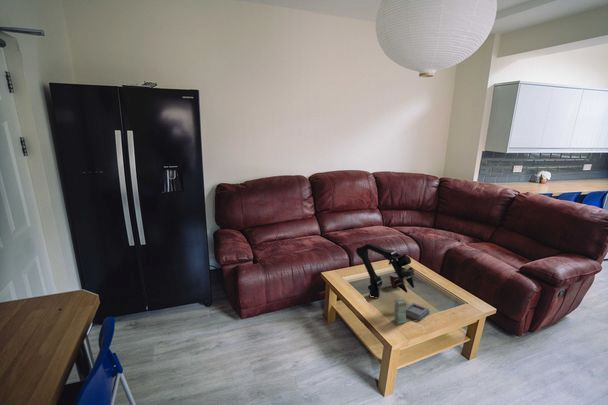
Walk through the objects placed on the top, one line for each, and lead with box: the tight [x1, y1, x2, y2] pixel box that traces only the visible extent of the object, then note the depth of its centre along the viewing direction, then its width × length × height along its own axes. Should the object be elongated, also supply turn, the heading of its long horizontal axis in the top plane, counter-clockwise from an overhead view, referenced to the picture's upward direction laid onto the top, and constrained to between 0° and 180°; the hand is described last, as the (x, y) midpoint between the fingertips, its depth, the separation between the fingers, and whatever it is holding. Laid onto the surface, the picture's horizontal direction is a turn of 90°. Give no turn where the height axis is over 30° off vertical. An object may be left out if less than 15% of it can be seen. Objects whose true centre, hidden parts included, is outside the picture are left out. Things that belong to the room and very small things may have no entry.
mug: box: [389, 272, 399, 289], centre depth 228 cm, size 10×8×10 cm
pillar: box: [393, 297, 407, 325], centre depth 182 cm, size 5×5×14 cm
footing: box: [406, 302, 431, 322], centre depth 190 cm, size 12×12×4 cm
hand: (410, 290), depth 193 cm, fingers open, 9 cm apart
